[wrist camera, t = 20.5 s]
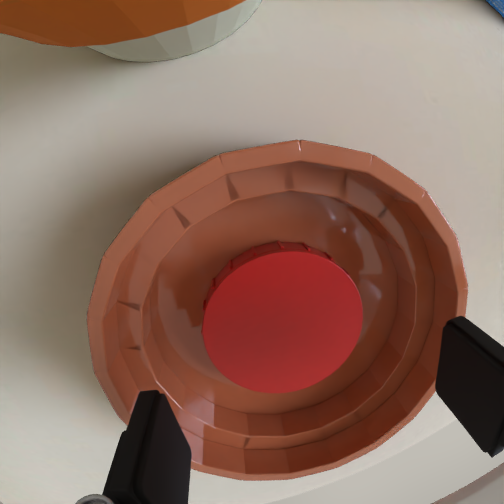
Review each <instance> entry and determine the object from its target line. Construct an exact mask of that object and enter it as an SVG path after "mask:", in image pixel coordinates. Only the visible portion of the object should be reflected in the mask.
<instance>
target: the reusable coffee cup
mask: <svg viewBox="0 0 504 504" xmlns="http://www.w3.org/2000/svg"><path fill="white" fill-rule="evenodd" d="M261 1H262V0H0V33H3V34H7V35H11V36H15V37H19V38H23V39H26V40H30V41H33V42H37V43H40V44H47V45H57V46H66V47H79V46H87V47H89V48H91V49H94V50H96V51H98V52H101V53H103V54H105V55H108V56H110V57H112V58H116V59H121V60H126V61H131V62H155V61H163V60H171V59H175V58H179V57H182V56H186V55H190V54H194V53H196V52H198V51H201V50H203V49H205V48H208V47H210V46H212V45H214V44H216V43H218V42H219V41H221V40H223V39H224V38H226V37H228V36H229V35H231V34H232V33H233V32H235V31H236V30H237V29H238V28H239V27H241V26H242V25H243V24H244V23H245V22H246V21H247V20H248V19H249V18H250V17H251V15H252V14H253V13H254V12H255V10H256V9H257V8H258V6H259V5H260V3H261Z"/></svg>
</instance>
